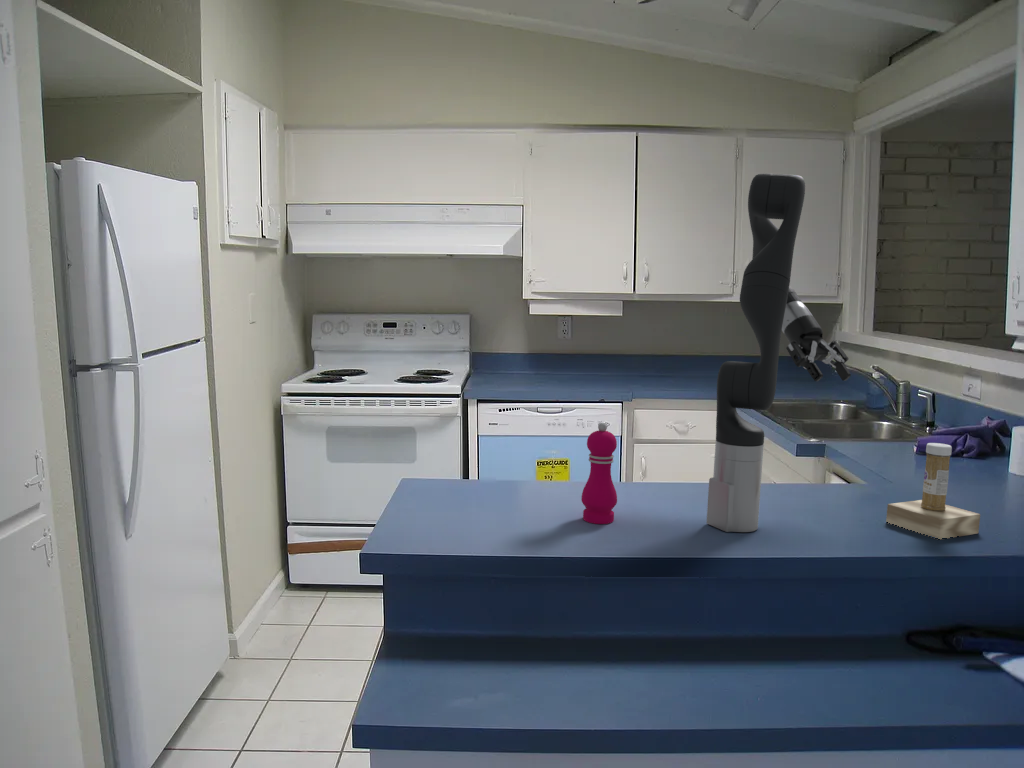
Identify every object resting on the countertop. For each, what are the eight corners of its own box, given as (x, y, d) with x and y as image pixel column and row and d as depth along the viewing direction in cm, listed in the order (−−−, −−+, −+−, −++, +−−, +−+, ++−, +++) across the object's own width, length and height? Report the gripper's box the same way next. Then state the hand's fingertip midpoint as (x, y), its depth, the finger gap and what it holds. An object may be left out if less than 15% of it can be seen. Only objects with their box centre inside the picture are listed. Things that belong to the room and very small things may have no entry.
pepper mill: (574, 516, 159) (578, 420, 156) (605, 513, 161) (610, 419, 159) (590, 526, 152) (594, 426, 150) (622, 523, 155) (627, 425, 152)
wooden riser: (938, 539, 150) (940, 519, 150) (886, 522, 161) (887, 504, 161) (978, 533, 156) (980, 514, 155) (924, 517, 166) (926, 499, 166)
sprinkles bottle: (916, 505, 160) (921, 442, 159) (936, 505, 161) (942, 442, 159) (929, 511, 156) (935, 446, 154) (950, 511, 156) (957, 446, 155)
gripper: (784, 313, 175) (820, 368, 166) (830, 314, 181) (867, 367, 172) (766, 335, 180) (800, 389, 171) (811, 335, 186) (845, 388, 177)
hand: (833, 378), depth 172 cm, fingers open, 8 cm apart
